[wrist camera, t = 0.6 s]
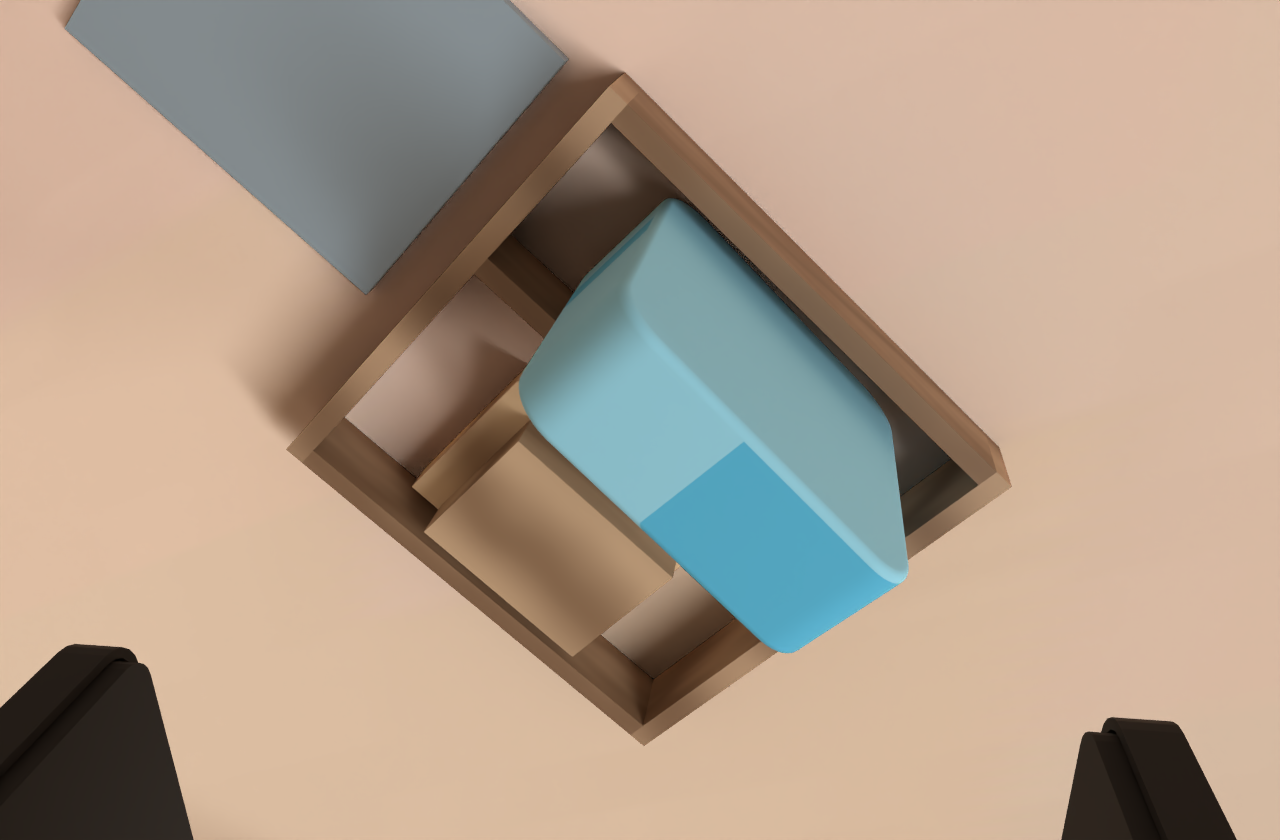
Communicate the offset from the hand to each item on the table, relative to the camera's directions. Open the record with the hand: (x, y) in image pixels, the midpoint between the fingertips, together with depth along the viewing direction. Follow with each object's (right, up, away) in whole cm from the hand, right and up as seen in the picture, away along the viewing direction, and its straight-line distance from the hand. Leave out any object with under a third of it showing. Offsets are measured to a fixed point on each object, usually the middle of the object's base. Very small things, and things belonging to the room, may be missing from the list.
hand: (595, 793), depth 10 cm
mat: (-11, +17, +26) cm, 33 cm away
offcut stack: (-3, +1, +34) cm, 34 cm away
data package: (+4, +7, +29) cm, 30 cm away
